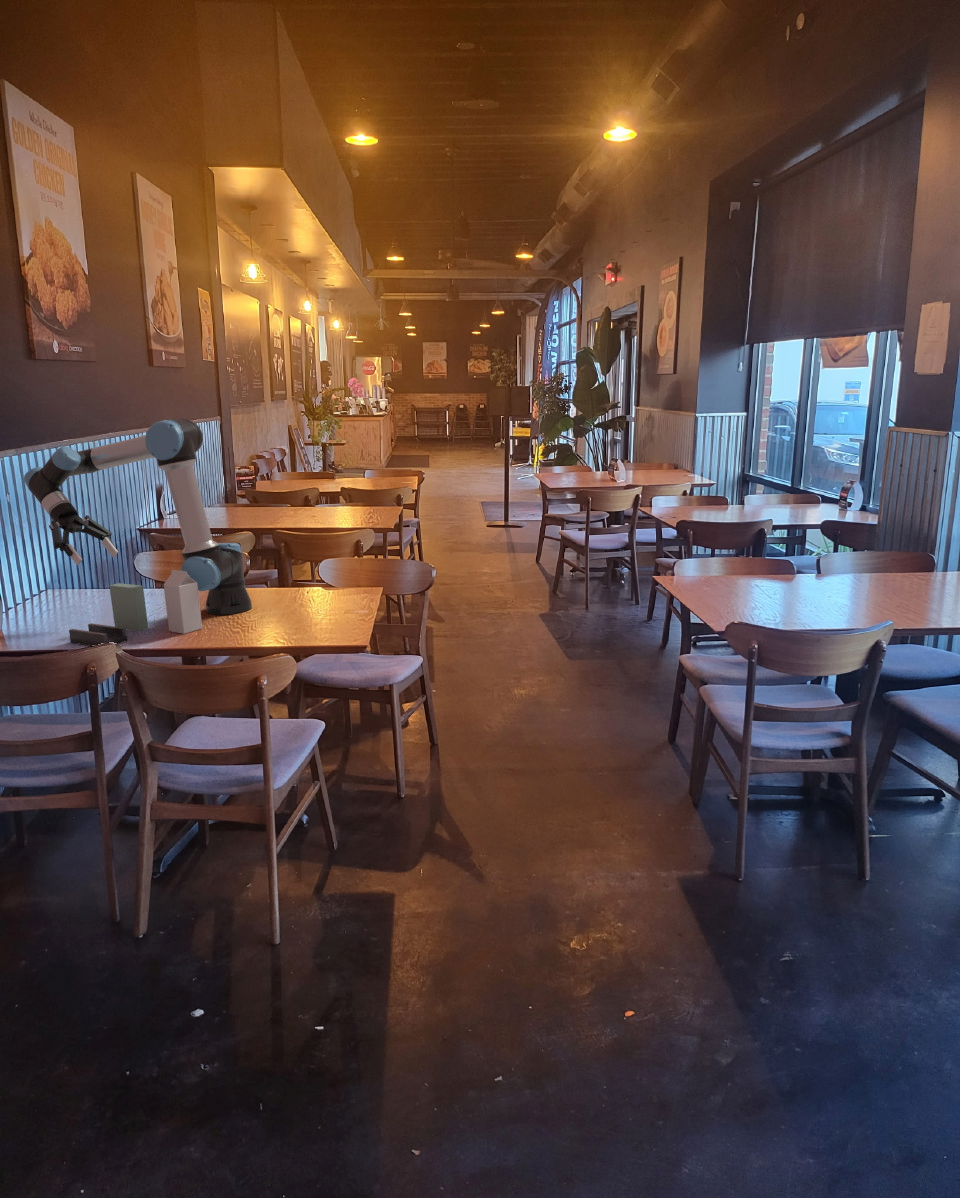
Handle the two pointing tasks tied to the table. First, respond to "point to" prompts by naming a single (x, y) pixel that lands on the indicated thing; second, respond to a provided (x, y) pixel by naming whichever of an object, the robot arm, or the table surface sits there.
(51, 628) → the table surface
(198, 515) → the robot arm
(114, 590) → the door panel
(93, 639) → the bottom track
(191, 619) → the milk carton
